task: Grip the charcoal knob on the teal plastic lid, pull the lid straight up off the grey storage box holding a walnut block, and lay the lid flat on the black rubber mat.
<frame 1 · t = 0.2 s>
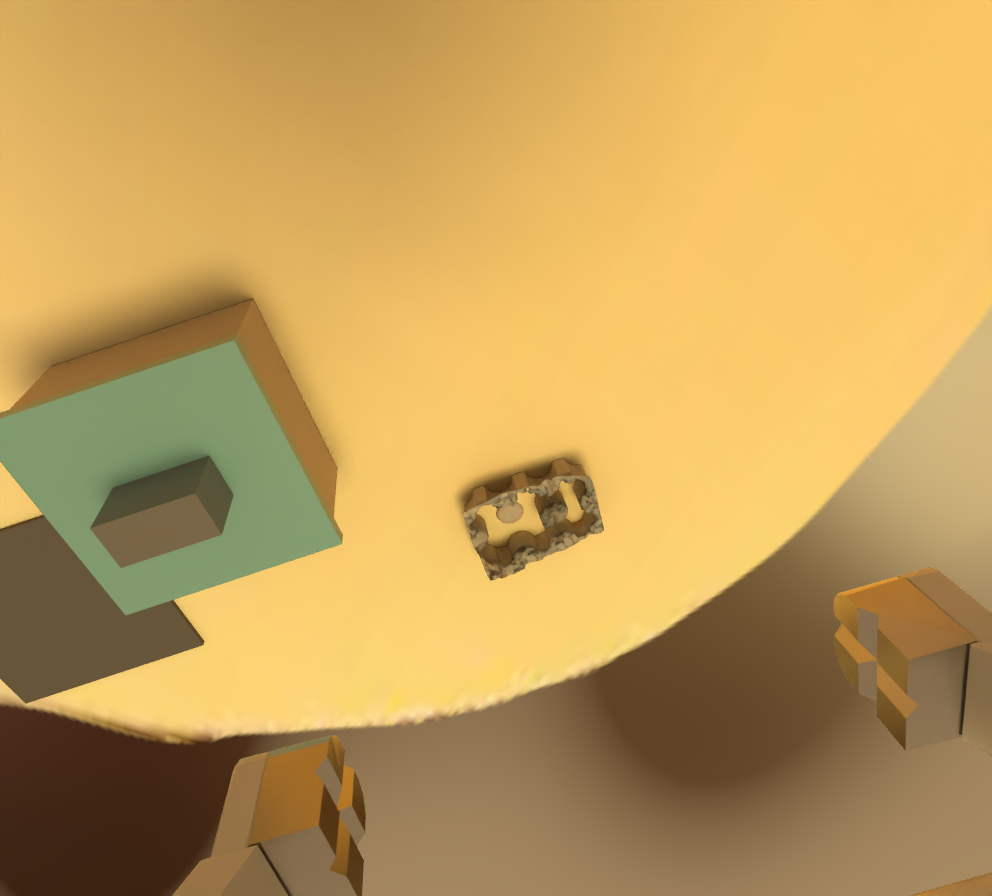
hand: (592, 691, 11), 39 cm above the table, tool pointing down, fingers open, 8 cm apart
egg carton: (527, 500, 58), on the table
lid: (182, 471, 43), point 7 cm above the table, touching storage box
storage box: (204, 420, 49), on the table
rubber mat: (59, 606, 55), on the table
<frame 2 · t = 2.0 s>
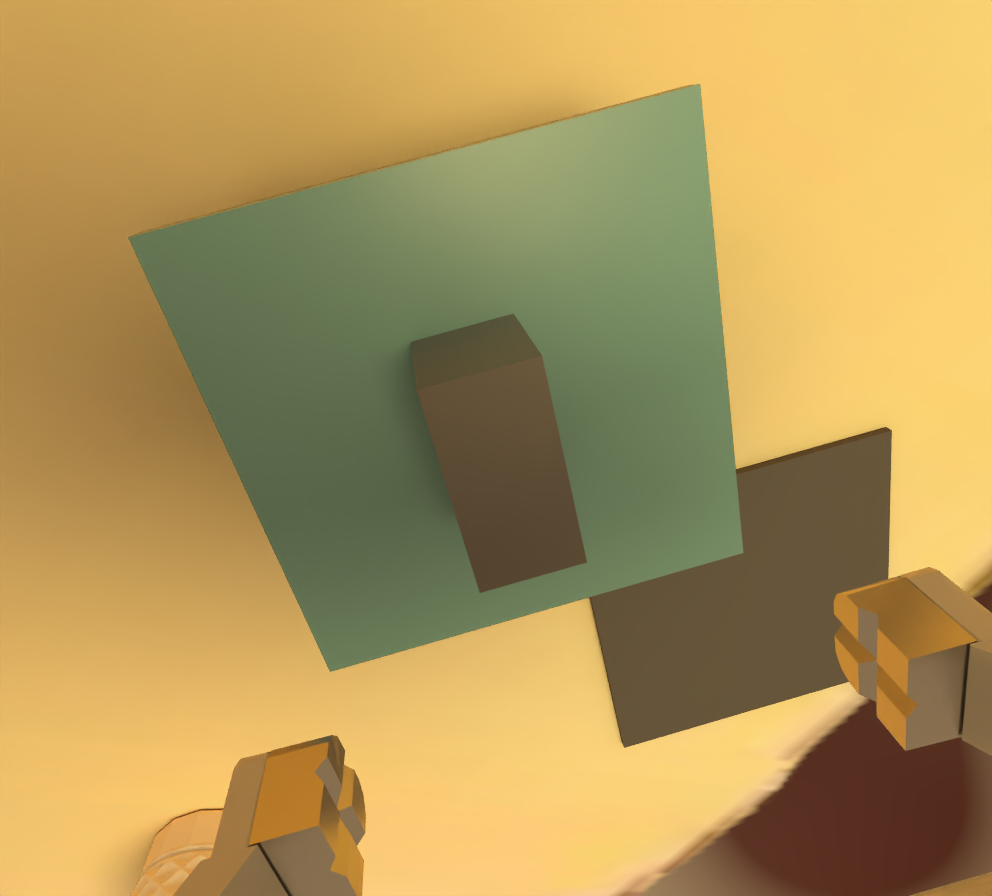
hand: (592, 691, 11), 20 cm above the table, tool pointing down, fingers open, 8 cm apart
lid: (478, 396, 23), point 7 cm above the table, touching storage box
tan cup: (216, 845, 40), on the table
rubber mat: (742, 598, 37), on the table
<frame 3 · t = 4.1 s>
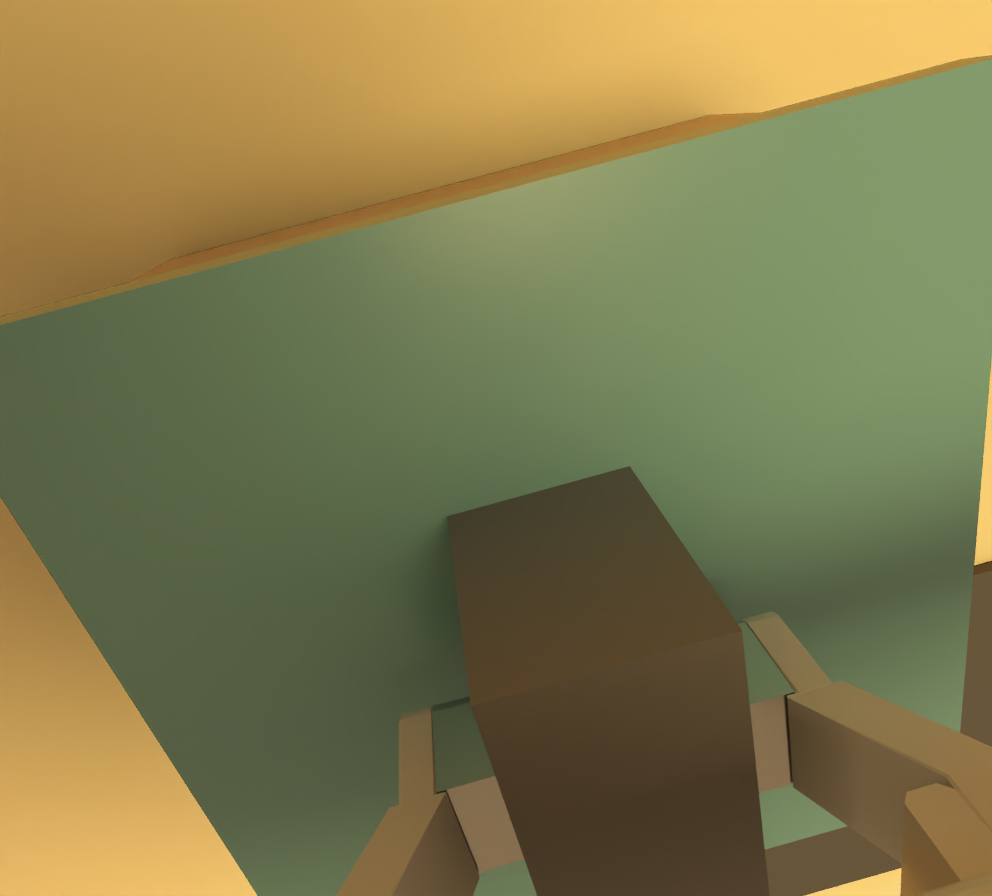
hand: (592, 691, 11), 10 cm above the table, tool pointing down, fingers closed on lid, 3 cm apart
lid: (549, 563, 14), point 7 cm above the table, touching gripper, storage box
storage box: (504, 432, 20), on the table
rubber mat: (863, 749, 28), on the table
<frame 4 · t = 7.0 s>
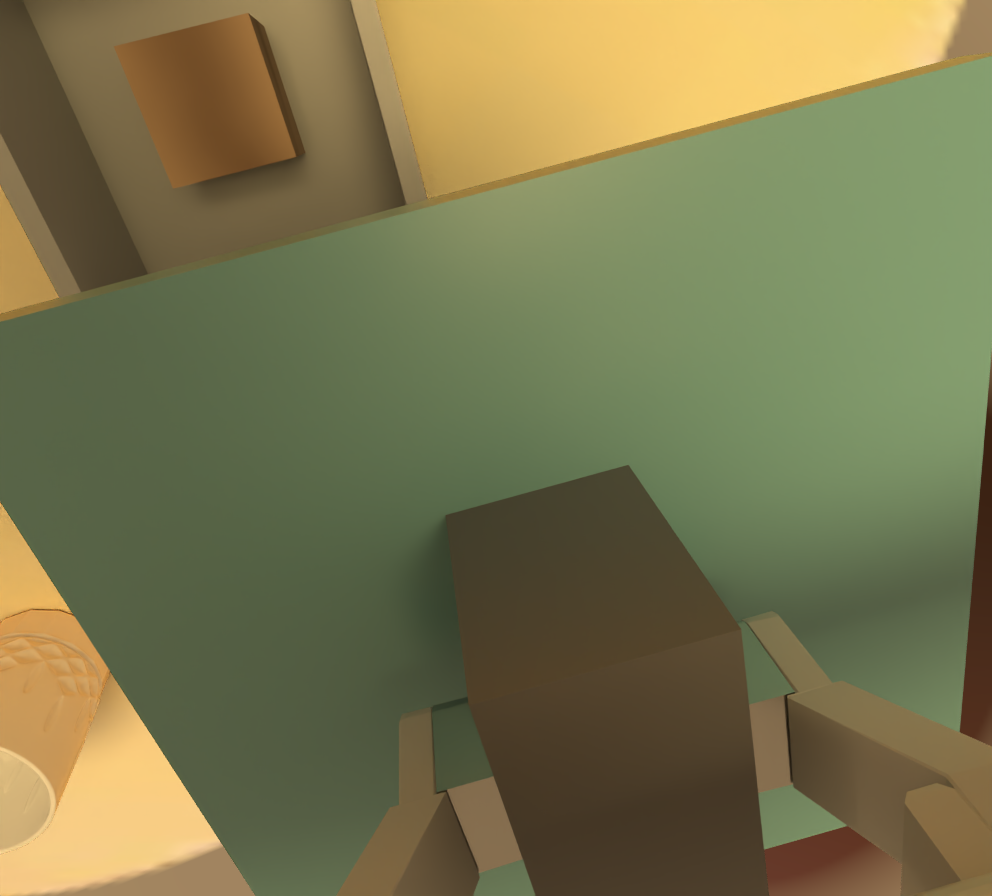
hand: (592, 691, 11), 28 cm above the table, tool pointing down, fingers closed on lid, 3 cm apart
lid: (547, 562, 14), point 24 cm above the table, touching gripper
storage box: (232, 106, 31), on the table
tan cup: (53, 651, 41), on the table
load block: (229, 106, 30), point 1 cm above the table, touching storage box
when the fingers open (6 cm above the table, at t = 10.1 s): lid drops 2 cm, resting on rubber mat.
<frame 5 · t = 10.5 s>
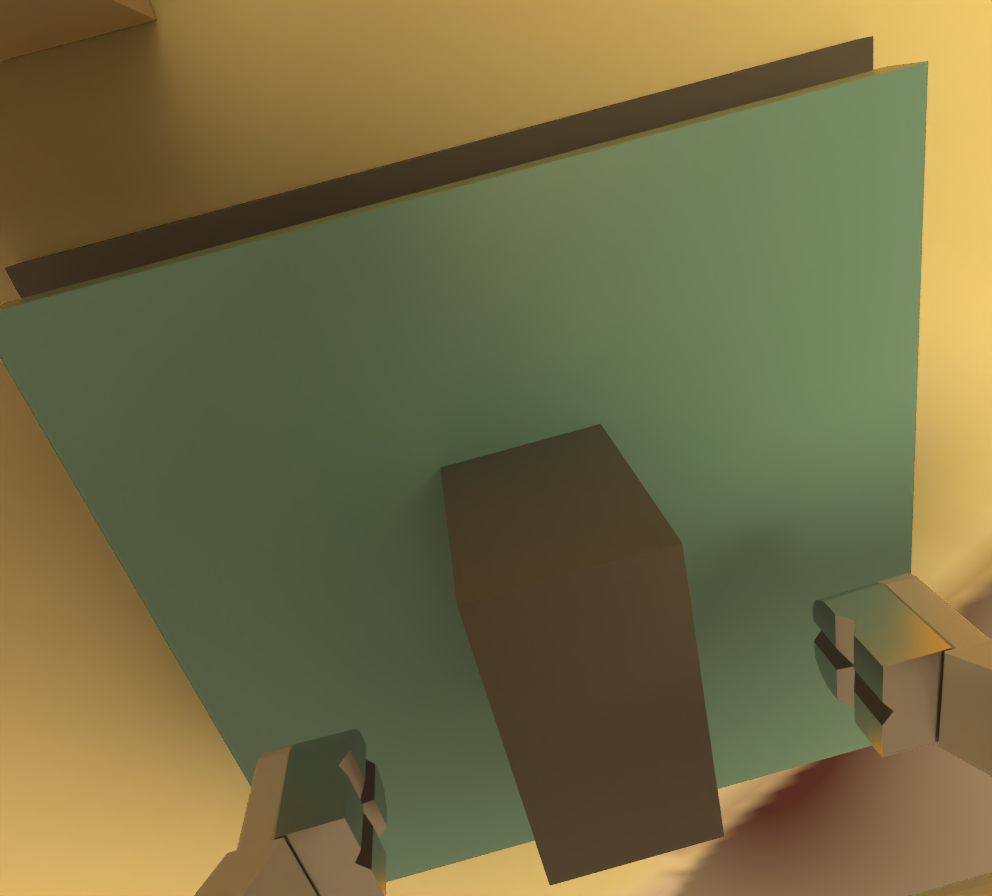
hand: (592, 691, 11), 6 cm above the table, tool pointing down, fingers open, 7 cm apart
lid: (534, 520, 16), resting on rubber mat
rubber mat: (532, 513, 16), on the table
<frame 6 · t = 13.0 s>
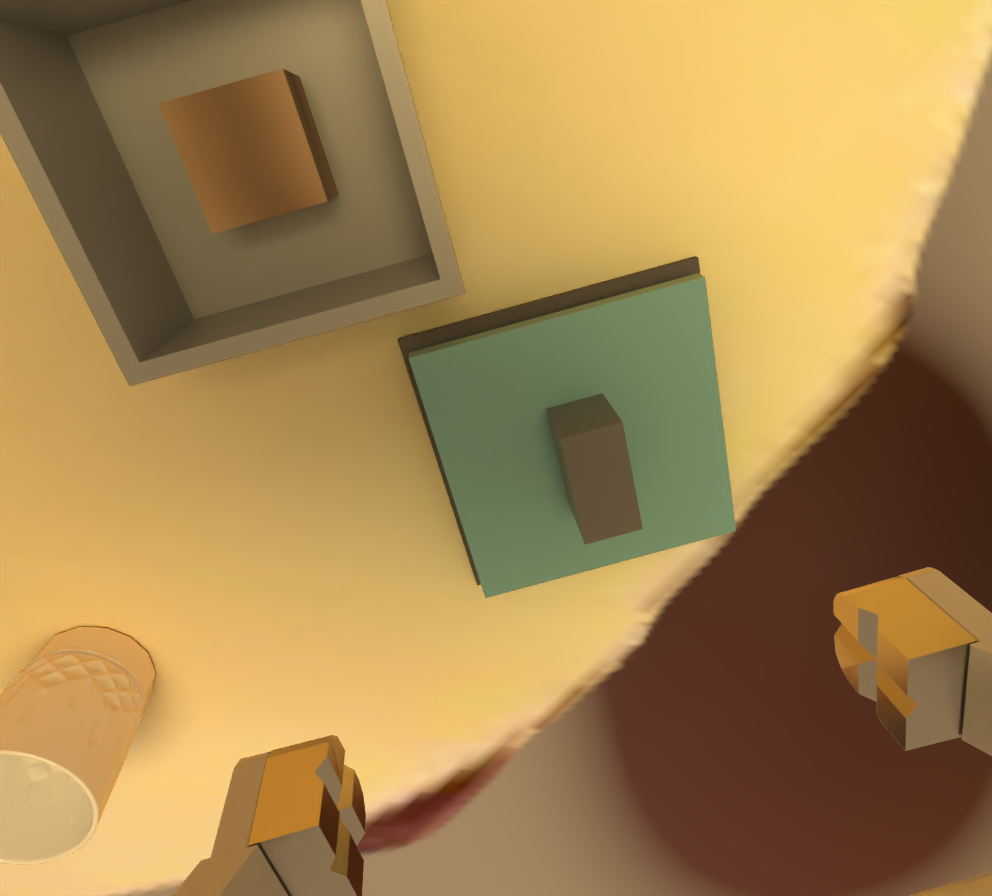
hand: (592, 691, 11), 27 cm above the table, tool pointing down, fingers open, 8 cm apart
lid: (577, 435, 39), resting on rubber mat
storage box: (270, 152, 32), on the table
tan cup: (100, 666, 43), on the table
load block: (266, 152, 31), point 1 cm above the table, touching storage box
rubber mat: (576, 433, 39), on the table
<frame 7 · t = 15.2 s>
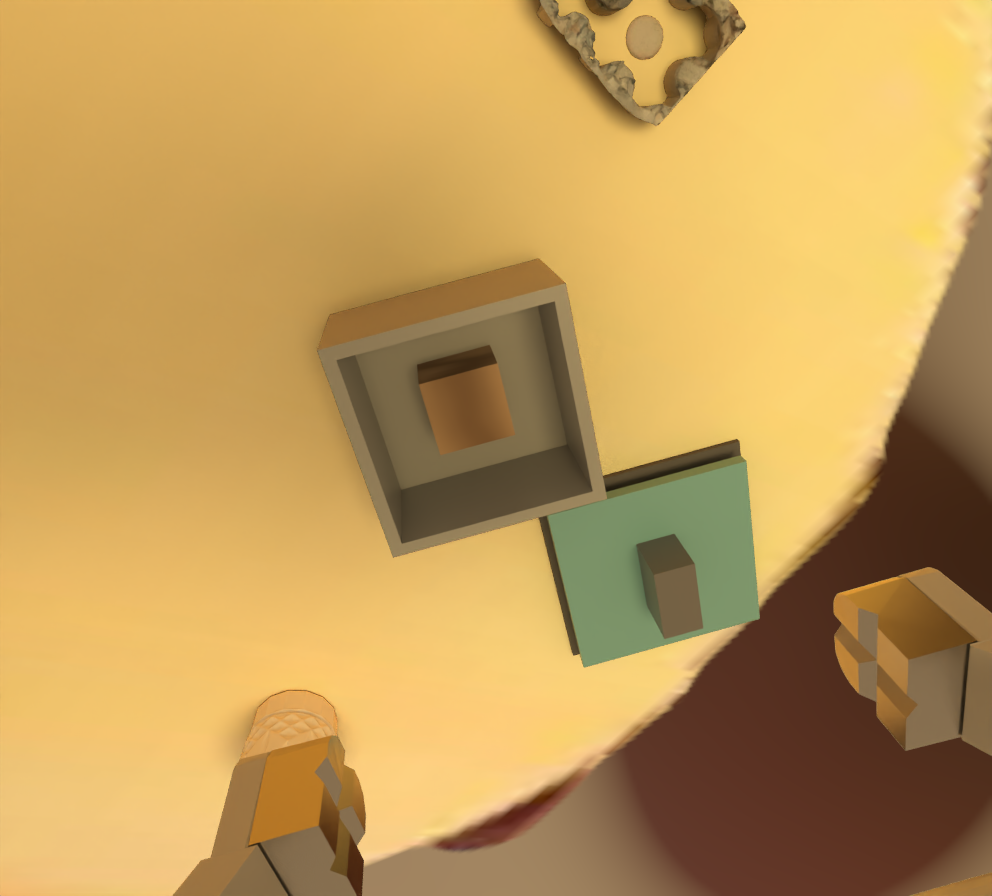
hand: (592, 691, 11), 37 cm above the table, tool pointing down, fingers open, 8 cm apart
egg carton: (620, 19, 40), on the table
lid: (650, 554, 55), resting on rubber mat
storage box: (461, 384, 48), on the table
tan cup: (296, 717, 59), on the table
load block: (462, 388, 47), point 1 cm above the table, touching storage box
rubber mat: (649, 552, 56), on the table
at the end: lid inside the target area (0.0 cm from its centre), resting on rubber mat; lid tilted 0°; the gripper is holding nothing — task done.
